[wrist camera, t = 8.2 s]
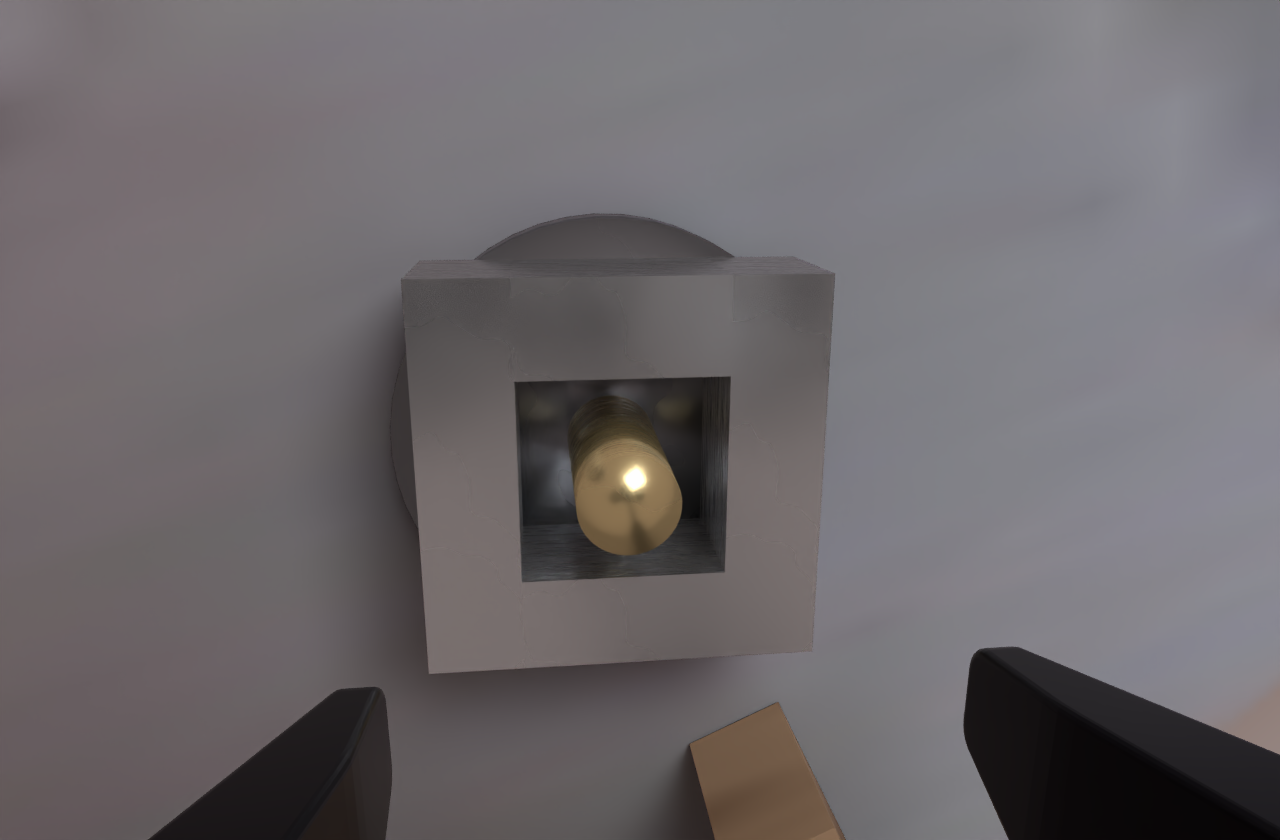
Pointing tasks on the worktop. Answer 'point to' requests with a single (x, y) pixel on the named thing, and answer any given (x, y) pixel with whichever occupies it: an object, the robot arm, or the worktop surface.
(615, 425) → the hub
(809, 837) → the stand
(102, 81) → the worktop surface
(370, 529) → the worktop surface
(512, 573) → the square frame block
